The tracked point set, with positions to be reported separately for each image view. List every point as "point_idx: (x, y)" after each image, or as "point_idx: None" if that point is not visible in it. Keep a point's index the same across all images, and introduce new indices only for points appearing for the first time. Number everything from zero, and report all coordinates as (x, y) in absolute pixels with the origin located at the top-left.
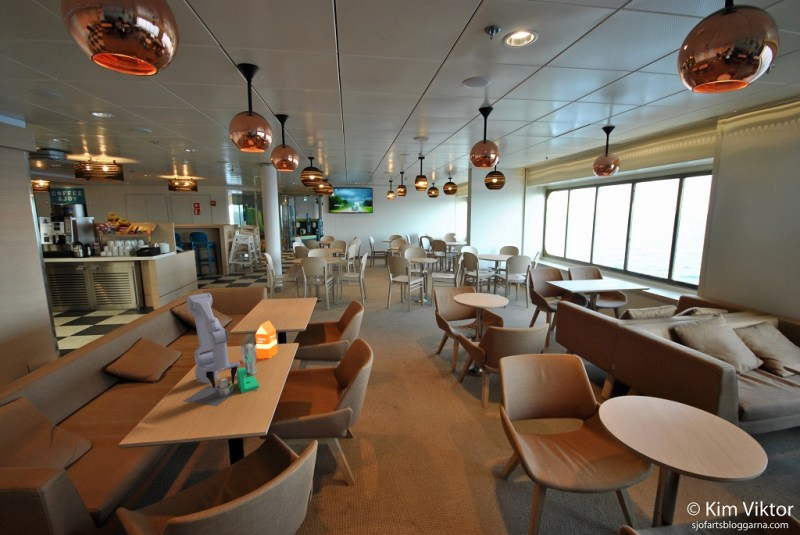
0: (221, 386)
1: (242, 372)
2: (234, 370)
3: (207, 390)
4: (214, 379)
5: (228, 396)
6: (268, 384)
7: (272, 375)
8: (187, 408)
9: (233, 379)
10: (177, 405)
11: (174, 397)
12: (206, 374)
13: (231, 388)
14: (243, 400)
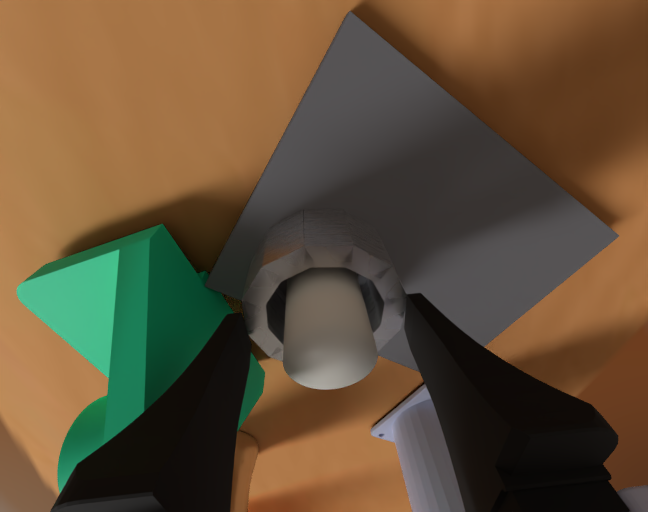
0: (341, 292)
1: (99, 446)
2: (75, 505)
3: None
4: (427, 387)
5: (270, 198)
6: (14, 320)
7: (63, 411)
8: (593, 129)
9: (204, 352)
10: (642, 207)
11: (627, 313)
12: (602, 464)
13: (250, 274)
14: (104, 104)
